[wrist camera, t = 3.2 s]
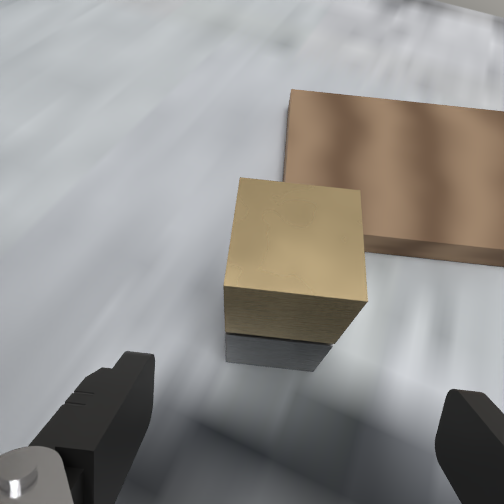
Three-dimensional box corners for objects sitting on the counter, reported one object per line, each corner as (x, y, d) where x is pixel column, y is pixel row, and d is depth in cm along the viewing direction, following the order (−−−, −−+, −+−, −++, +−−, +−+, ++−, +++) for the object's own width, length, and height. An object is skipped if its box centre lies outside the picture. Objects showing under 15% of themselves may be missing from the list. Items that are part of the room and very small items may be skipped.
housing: (226, 362, 22) (223, 285, 13) (236, 284, 24) (240, 177, 16) (313, 371, 22) (367, 301, 13) (314, 292, 24) (360, 190, 16)
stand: (278, 242, 26) (281, 225, 24) (288, 109, 33) (291, 89, 31) (569, 273, 26) (593, 259, 24) (515, 133, 33) (530, 114, 31)
